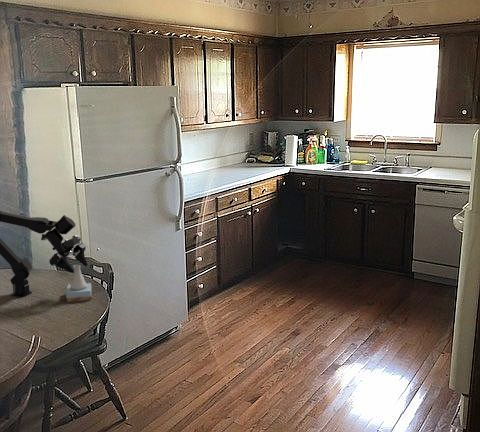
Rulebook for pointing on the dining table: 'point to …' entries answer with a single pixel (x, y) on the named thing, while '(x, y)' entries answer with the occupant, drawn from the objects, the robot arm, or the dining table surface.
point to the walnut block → (79, 298)
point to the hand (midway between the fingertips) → (80, 268)
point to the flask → (78, 279)
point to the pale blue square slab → (78, 292)
